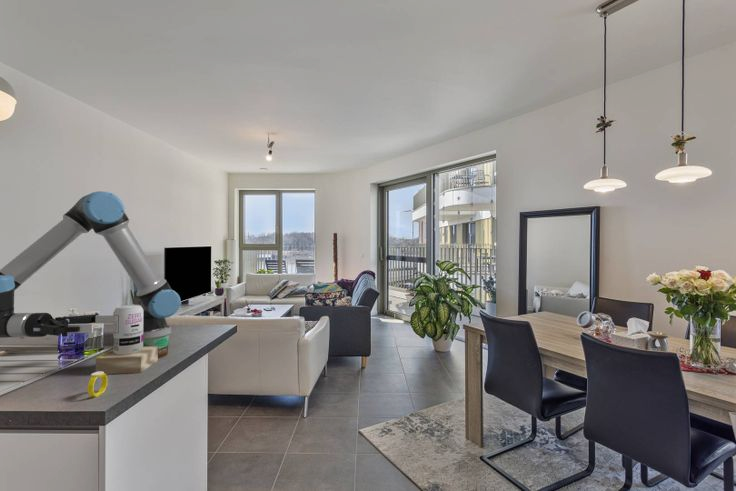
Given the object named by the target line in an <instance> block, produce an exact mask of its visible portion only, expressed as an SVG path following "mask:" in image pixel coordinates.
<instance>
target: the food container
mask: <svg viewBox="0 0 736 491" xmlns="http://www.w3.org/2000/svg"><path fill="white" fill-rule="evenodd" d="M171 334H172V328H171V326H170V325H168V324H167V325H164V327H163V328H160V329H153V330H151V331H149V332H143V346H158V359H159V358H160V359H161V358H163V357H166V356H167V355H168V353H169V352H168V351H169V342H170V335H171Z"/></svg>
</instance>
